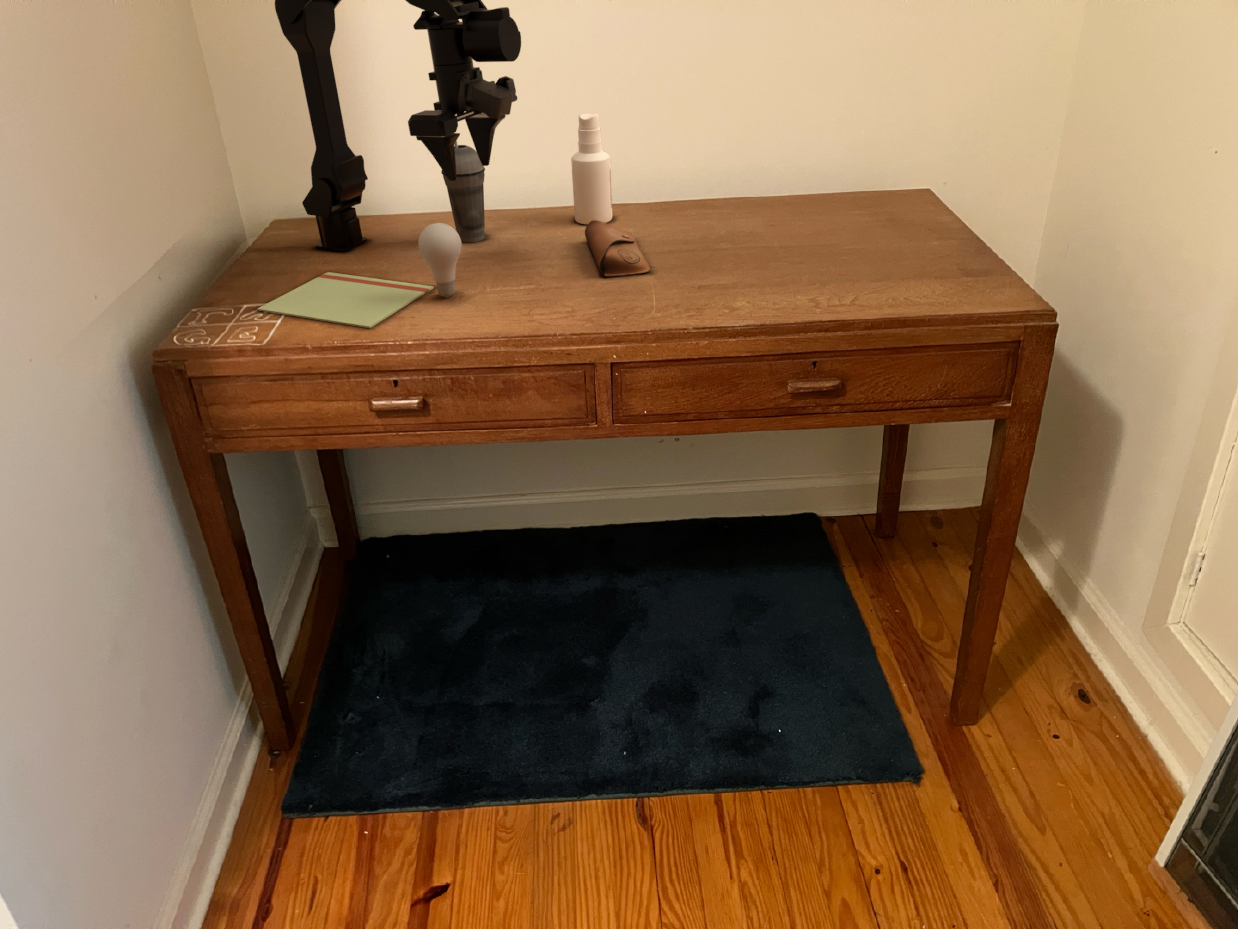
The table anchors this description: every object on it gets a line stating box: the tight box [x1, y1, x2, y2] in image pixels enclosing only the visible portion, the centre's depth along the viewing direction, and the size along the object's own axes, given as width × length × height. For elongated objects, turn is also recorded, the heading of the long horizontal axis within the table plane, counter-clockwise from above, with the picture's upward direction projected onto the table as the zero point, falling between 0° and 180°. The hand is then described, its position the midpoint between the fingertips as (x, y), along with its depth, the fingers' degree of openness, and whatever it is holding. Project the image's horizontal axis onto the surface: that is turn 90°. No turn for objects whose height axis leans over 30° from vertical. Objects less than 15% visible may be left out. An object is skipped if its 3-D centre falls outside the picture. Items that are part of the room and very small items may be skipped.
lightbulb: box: [417, 222, 462, 299], centre depth 132 cm, size 6×6×11 cm
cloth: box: [257, 271, 435, 329], centre depth 136 cm, size 20×16×1 cm
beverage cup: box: [441, 139, 486, 243], centre depth 153 cm, size 7×7×20 cm
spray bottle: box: [570, 112, 613, 226], centre depth 160 cm, size 7×7×18 cm
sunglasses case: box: [584, 220, 651, 278], centre depth 147 cm, size 18×7×7 cm
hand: (469, 172), depth 140 cm, fingers open, 9 cm apart
